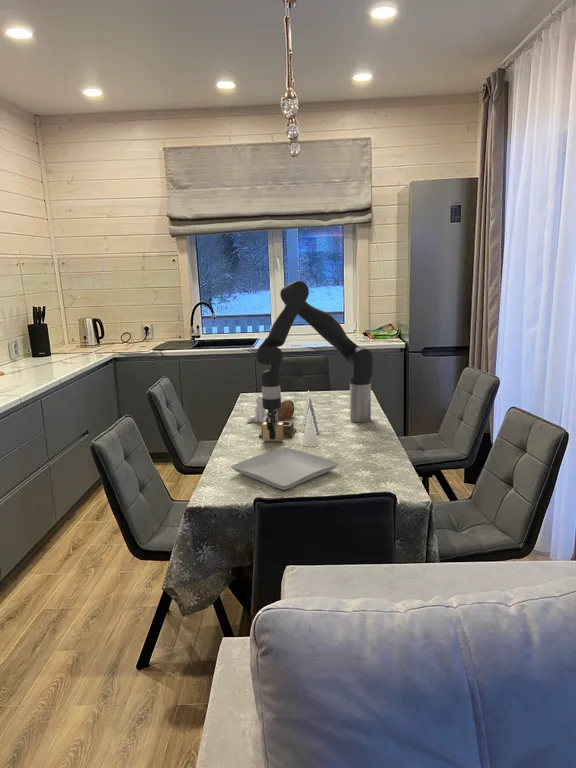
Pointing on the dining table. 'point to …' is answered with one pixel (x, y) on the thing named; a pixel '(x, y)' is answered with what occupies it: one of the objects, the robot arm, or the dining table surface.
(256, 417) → the sitting furry creature
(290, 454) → the square plate
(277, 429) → the tan wooden block
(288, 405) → the tin
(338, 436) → the dining table surface
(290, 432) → the slotted block
